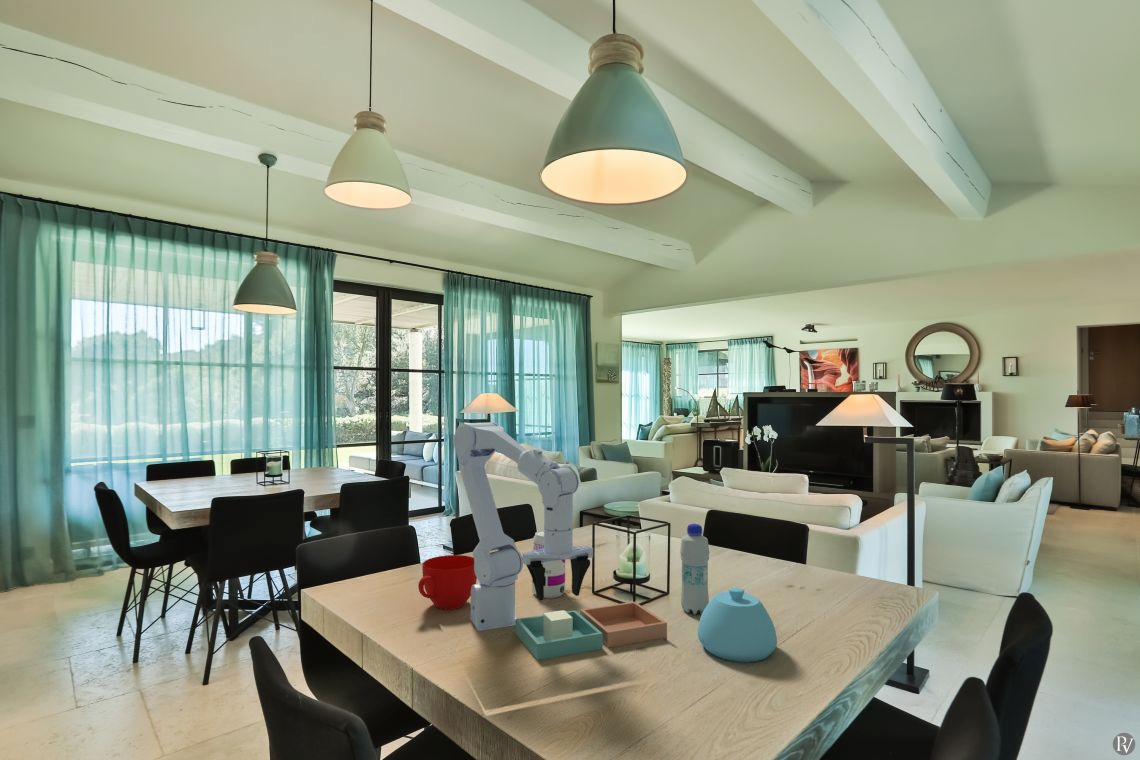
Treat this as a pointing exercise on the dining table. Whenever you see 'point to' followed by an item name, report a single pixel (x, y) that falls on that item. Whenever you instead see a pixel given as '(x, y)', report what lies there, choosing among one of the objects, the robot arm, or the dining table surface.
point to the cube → (557, 625)
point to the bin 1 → (582, 639)
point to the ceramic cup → (448, 580)
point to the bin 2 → (625, 623)
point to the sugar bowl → (737, 627)
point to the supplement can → (550, 571)
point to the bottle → (694, 570)
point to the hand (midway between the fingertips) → (558, 596)
